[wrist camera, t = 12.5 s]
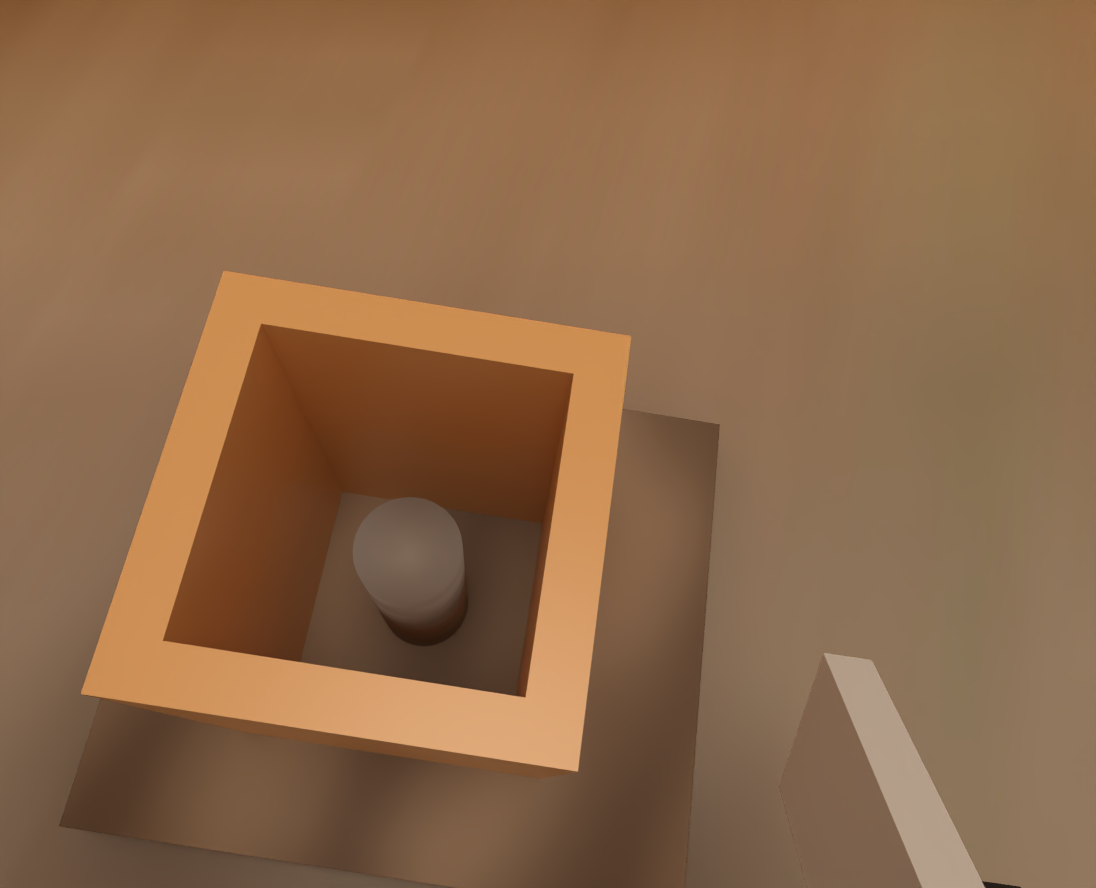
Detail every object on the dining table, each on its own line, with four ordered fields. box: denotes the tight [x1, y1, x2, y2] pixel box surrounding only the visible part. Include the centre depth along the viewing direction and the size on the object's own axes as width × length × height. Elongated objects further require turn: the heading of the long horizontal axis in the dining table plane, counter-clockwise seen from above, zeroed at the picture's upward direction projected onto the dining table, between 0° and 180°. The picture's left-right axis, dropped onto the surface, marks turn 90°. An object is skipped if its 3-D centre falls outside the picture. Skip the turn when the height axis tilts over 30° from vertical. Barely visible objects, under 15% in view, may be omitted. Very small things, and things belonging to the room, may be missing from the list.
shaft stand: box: [59, 409, 720, 888], centre depth 22 cm, size 16×14×8 cm
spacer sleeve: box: [81, 271, 631, 779], centre depth 20 cm, size 8×8×10 cm
